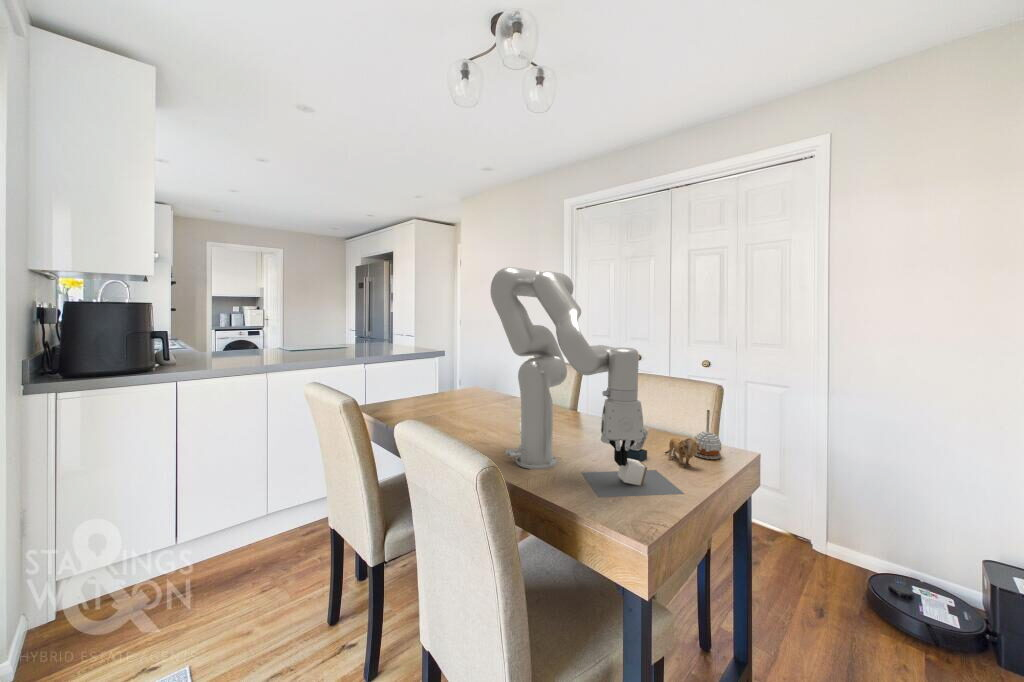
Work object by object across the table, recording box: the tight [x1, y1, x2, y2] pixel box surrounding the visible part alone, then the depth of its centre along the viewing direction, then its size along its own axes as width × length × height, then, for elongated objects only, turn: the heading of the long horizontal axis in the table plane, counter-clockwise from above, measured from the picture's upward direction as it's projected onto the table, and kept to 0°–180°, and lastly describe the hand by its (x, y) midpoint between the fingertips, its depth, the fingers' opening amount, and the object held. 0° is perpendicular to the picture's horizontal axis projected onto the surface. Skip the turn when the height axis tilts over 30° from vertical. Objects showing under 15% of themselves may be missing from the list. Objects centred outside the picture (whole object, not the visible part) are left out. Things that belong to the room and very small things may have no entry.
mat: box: [580, 469, 685, 498], centre depth 110 cm, size 22×16×1 cm
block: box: [617, 458, 648, 486], centre depth 110 cm, size 5×5×5 cm
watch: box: [627, 425, 649, 463], centre depth 129 cm, size 6×8×11 cm
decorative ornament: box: [694, 409, 722, 460], centre depth 132 cm, size 8×8×15 cm
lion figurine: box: [664, 437, 702, 468], centre depth 126 cm, size 15×5×9 cm, turn 16°
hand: (620, 464), depth 109 cm, fingers closed
